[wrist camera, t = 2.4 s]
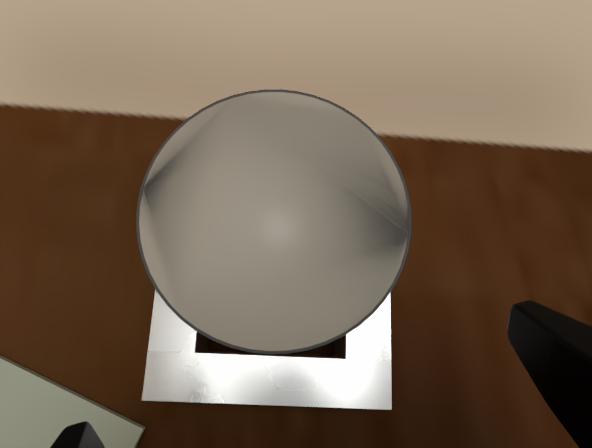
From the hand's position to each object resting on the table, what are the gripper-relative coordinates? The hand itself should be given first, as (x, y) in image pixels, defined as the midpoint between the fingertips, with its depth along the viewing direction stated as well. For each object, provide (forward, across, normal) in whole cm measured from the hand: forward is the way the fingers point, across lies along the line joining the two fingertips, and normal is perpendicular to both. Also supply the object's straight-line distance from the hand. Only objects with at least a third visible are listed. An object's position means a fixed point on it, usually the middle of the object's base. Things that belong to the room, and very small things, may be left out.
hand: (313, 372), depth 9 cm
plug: (+10, 0, +6) cm, 11 cm away
